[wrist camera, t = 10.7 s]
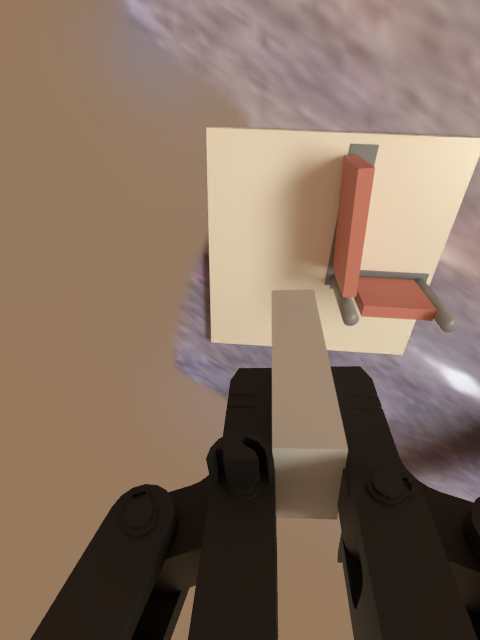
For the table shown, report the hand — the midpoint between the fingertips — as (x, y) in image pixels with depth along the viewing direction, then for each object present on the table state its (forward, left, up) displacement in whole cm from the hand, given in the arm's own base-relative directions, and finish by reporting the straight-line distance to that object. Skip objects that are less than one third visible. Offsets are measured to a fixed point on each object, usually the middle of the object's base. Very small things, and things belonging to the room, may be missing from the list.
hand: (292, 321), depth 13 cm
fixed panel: (-10, -12, -23) cm, 28 cm away
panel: (-3, -7, -23) cm, 24 cm away
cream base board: (-8, -5, -24) cm, 26 cm away
